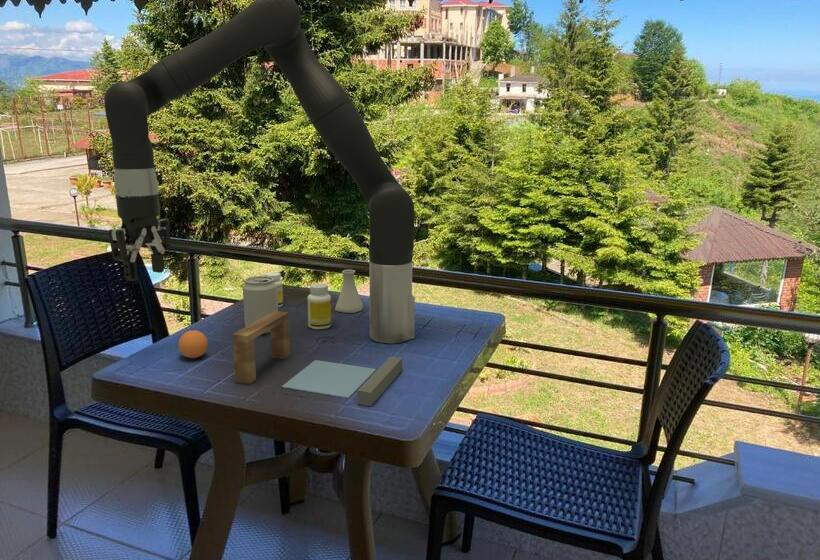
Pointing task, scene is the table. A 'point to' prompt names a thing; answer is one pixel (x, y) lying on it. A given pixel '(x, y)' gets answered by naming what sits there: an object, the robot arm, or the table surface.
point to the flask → (349, 295)
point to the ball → (193, 344)
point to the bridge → (245, 344)
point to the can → (259, 298)
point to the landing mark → (330, 378)
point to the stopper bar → (379, 381)
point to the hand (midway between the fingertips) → (145, 276)
